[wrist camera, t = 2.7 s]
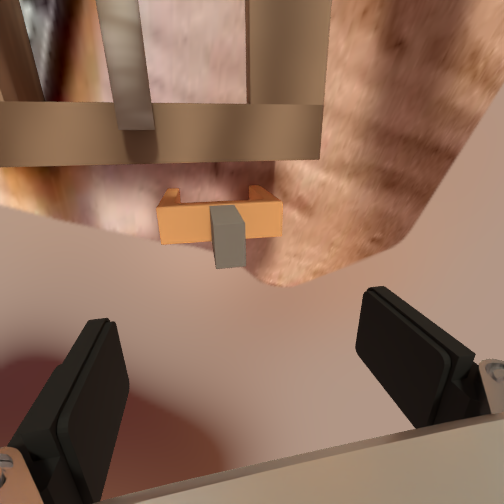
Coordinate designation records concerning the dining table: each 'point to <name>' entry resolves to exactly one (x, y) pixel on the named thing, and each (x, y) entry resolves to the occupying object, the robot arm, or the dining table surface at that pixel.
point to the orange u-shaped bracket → (220, 223)
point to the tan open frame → (171, 114)
